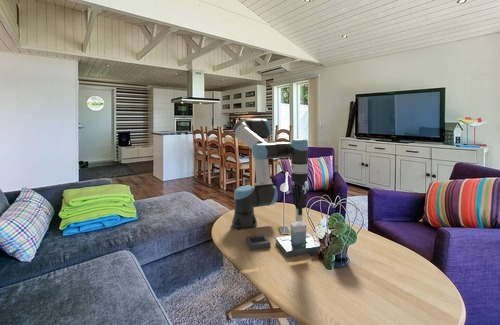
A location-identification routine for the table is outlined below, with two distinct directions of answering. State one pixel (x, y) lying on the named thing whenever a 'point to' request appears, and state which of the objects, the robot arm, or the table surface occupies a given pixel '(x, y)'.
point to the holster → (257, 242)
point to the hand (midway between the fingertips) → (298, 220)
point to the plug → (298, 233)
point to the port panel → (298, 246)
